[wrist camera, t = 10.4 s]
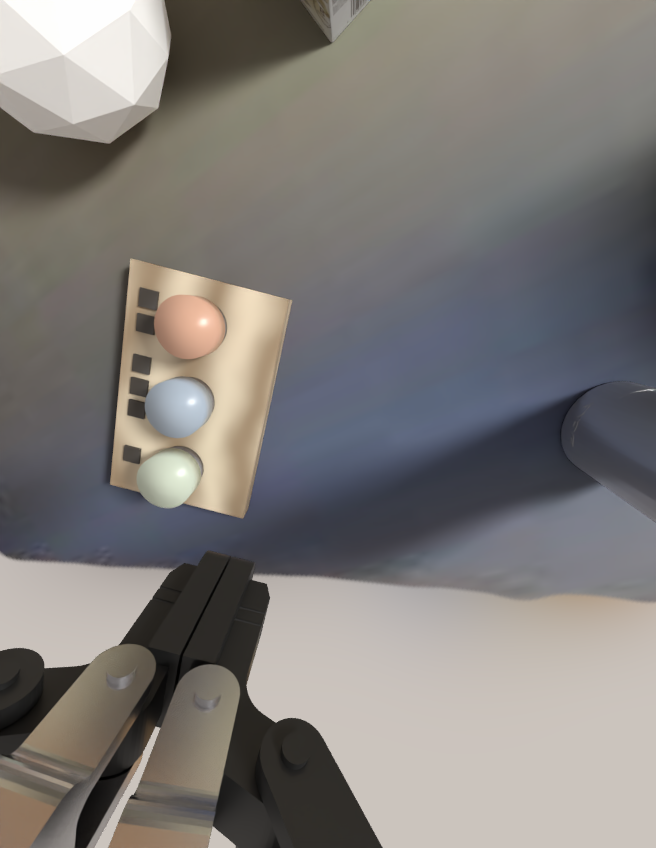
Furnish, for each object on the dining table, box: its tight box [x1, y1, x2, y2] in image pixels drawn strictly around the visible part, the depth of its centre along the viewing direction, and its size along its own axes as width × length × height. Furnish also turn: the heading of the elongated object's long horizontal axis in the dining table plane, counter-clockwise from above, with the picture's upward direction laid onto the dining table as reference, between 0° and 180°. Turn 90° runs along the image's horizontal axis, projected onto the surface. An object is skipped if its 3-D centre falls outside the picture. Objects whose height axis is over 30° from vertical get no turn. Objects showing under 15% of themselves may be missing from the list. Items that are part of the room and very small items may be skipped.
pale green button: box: [137, 448, 201, 508], centre depth 36 cm, size 5×5×2 cm
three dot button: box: [145, 376, 212, 438], centre depth 34 cm, size 5×5×2 cm
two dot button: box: [154, 295, 225, 359], centre depth 32 cm, size 5×5×2 cm
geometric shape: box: [0, 0, 171, 144], centre depth 25 cm, size 14×15×15 cm
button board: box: [110, 259, 292, 518], centre depth 37 cm, size 14×22×3 cm, turn 166°
